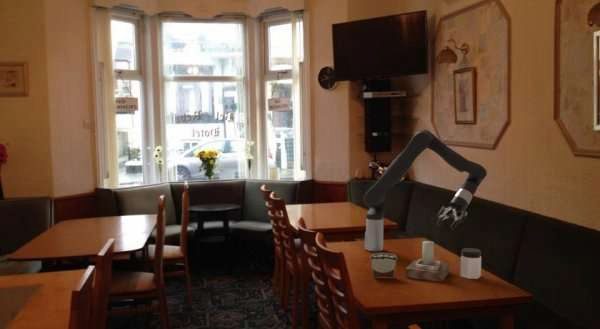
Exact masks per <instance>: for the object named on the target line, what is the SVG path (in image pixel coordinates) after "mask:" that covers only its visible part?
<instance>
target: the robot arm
mask: <svg viewBox="0 0 600 329" xmlns="http://www.w3.org/2000/svg"><path fill="white" fill-rule="evenodd" d="M426 149H429V150H431V151H432V152H434V153H435V154H436V155H438V156H439V157H440V158H441V159H442V160H443V161H444V162H445V163H447V164H448V165H449V166H450V167H451V168H453V169H455V170H456V171H458V172H460V173H464V172H465V173H467V174H468V175H467V177H466V178H465V180H464V182H463V183H462V184H461V186H460V188H459V189H458V190H457V191H456V193H455V195H454V196H453V198H452V199H451V201H450V202H449V204H448V205H449V206H448V207H445V206H444V205H443V206H442V207H441V208H440V210H439V211H438V213H437V214H436V216H437V220H436V222H435V225H436V226H437V227H440V226H441V225H442V223H443V221H444V220H447V219H449V218H450V219H453V222H452V223H451V225H450V229H451V230H455V229H456V228H457V226H458V225H459V224H464V223H465V220H466V218H467V217H468V215H469V214H468V212H467V211H466V209H467V207H468V206H469V204H470V202H471V201H472V198H473V197H474V195H475V194H476V193H477V189H478V188H479V186H480V185H481V183H482V182H483V181H484V180H485V178H486V177H487V175H488V174H487V173H488V171H487V169H486V168H485V167H484V166H482V165H481V164H479V163H477V162H474V161H471V160H469V159H467V158H466V157H465V156H463V155H461V154H460V153H458V152H456V151H455V150H453V148H450V147H449V146H448V145H447V144H446V143H444V142H442V141H441V140H440V139H439V138H438V137H437V136H436V135H435V134H434V133H432V132H431V131H430V130H428V129H420V130H419V131H417V132H415V133H414V134H413V136H412V138H411V139H410V141H409V143H407V145H406V147H405V148H404V149H403V150H402V152H400V153H399V154H398V155H397V156H396V158H394V159H393V160H392V162H391V163H390V164H389V165H388V167H387V168H386V170H385V171H384V172H383V173H382V175H381V176H379V178H378V180H377V181H376V182H375V183H374V184H373V185H372V186H371V187H370V188H368V190H366V192H365V194H364V196H363V202H364V204H365V206H368V207H369V209H368V211H367V212H366V214H365V218H366V219H365V221H366V222H365V230H366V231H365V232H364V250H365V251H370V252H382V251H383V250H384V215H385V212H386V195H385V194H386V192H387V191H388V190H389V189H391V188H392V187H393V186H395V185H396V184H397V183H399V182H400V181H401V180H402V179H403V177H404V176H405V175H406V174H407V173H408V172H409V170H410V169H411V167H412V165H413V163H414V162H415V161H416V159H417V158H418V157H419V156H420V155H421V153H422V152H424V151H425V150H426Z"/></svg>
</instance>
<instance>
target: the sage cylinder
mask: <svg viewBox="0 0 600 329" xmlns="http://www.w3.org/2000/svg"><path fill="white" fill-rule="evenodd" d="M434 245H435V242H434V241H431V240H424V241H422V252H421V254H422V255H421V256H422V257H421V259H422V265H429V266H433V264H434V261H435V258H434V256H435V255H434V254H435V246H434Z"/></svg>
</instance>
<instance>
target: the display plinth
mask: <svg viewBox="0 0 600 329" xmlns="http://www.w3.org/2000/svg"><path fill="white" fill-rule="evenodd" d="M449 270H450V264H449V263H446V262H445V263H444V262H442V261H440V260H434V264H433V266H429V265H422V258H419V259H414V260H413V261H412V262H410V264H409V265H408V266H407V267H405V277H406V278H410V279H415V280H416V279H417V280H422V281H423V280H426V281H433V282H440V283H442V282H444V280H445V279H446V277H447V276H448V274H449V272H450V271H449Z"/></svg>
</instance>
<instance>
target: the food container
mask: <svg viewBox="0 0 600 329" xmlns="http://www.w3.org/2000/svg"><path fill="white" fill-rule="evenodd" d="M369 260H371V271H372V278H376V279H377V278H378V279H380V278H381V279H383V278H385V279H389V278H390V279H394V278H395V274H396V272H395V271H396V265H397V261H398V257H397V254H394V253H391V252H390V253H389V252H375V253H372V254H370V257H369Z"/></svg>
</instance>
